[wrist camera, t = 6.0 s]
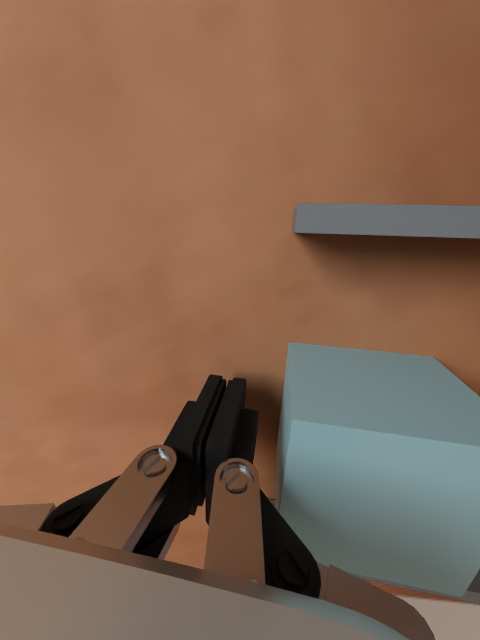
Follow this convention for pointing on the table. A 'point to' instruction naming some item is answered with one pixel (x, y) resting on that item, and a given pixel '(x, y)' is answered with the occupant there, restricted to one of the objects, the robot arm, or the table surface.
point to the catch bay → (393, 223)
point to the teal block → (381, 465)
